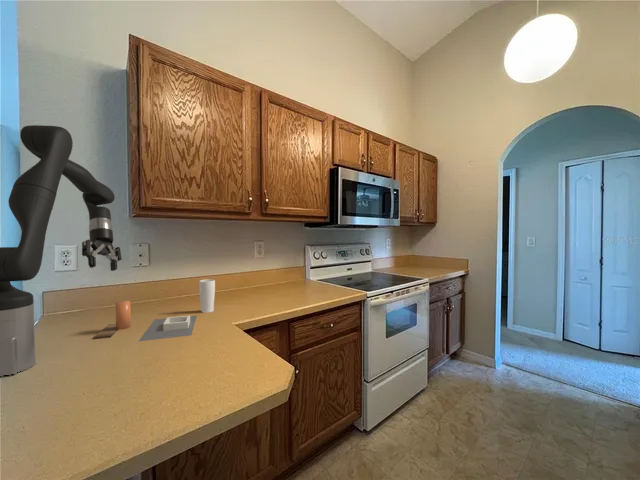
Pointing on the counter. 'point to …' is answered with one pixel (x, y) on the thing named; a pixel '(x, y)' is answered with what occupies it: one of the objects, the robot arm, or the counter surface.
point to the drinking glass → (207, 295)
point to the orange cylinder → (123, 315)
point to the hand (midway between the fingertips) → (103, 268)
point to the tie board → (170, 328)
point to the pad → (106, 332)
